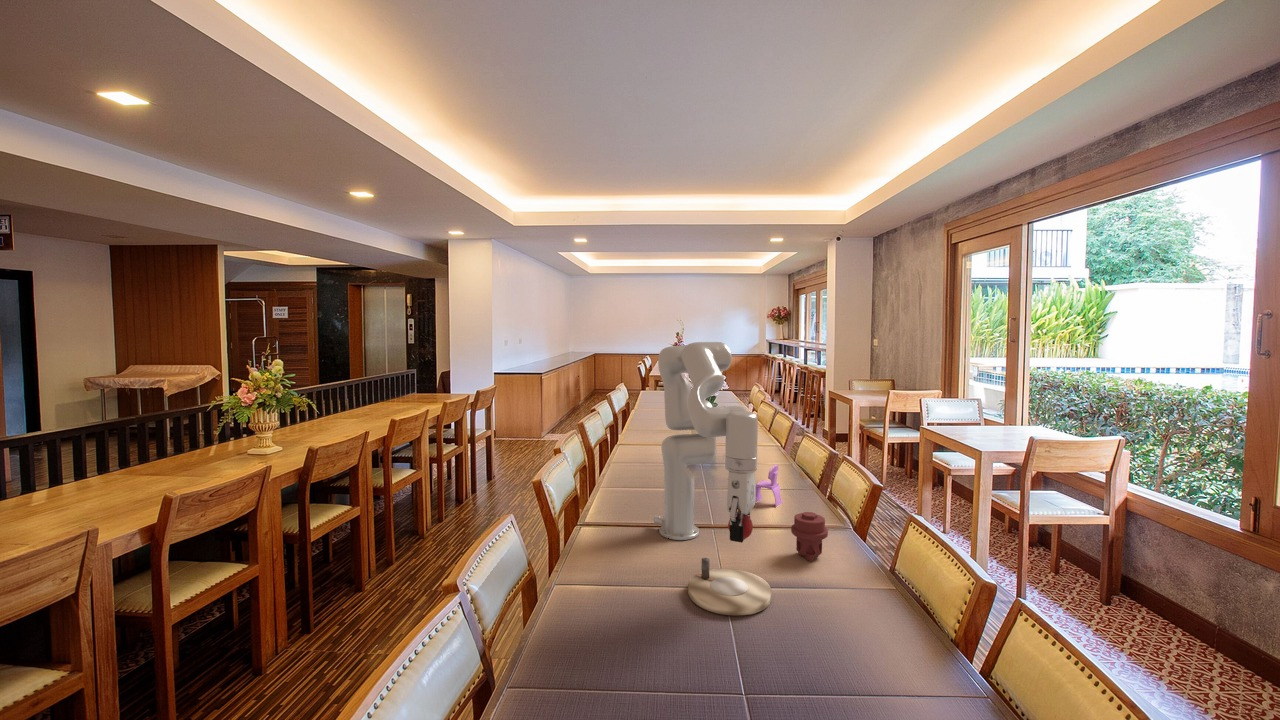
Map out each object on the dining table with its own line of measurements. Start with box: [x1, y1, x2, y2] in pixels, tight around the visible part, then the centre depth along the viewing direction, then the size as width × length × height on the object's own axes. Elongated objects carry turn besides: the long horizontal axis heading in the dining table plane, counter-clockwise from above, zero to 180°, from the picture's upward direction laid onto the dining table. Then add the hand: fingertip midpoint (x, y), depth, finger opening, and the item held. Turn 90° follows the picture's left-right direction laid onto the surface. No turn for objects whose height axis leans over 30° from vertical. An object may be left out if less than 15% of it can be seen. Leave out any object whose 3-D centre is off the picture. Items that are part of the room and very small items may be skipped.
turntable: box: [687, 557, 772, 616], centre depth 130 cm, size 20×20×6 cm
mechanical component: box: [790, 511, 829, 562], centre depth 152 cm, size 12×10×10 cm
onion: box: [727, 509, 754, 541], centre depth 129 cm, size 6×6×8 cm
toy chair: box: [755, 464, 783, 508], centre depth 199 cm, size 8×9×15 cm
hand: (739, 535), depth 129 cm, fingers closed on onion, 5 cm apart
